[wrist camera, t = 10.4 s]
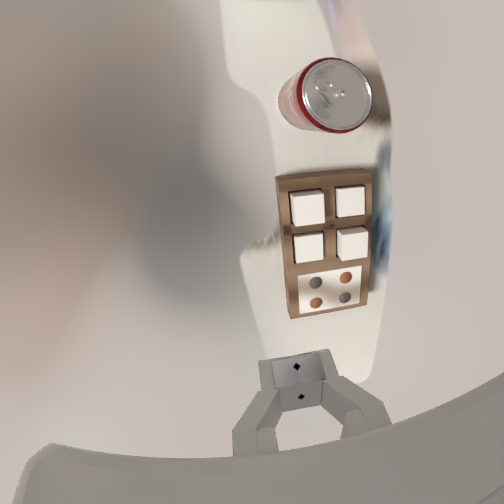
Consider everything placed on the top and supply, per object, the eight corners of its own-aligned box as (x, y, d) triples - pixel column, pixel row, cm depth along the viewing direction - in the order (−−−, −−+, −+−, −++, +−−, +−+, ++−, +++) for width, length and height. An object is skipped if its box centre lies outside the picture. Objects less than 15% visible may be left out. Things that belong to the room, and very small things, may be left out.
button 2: (289, 192, 35) (293, 197, 33) (317, 189, 36) (323, 193, 33) (291, 220, 37) (295, 226, 35) (319, 216, 37) (324, 222, 35)
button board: (274, 176, 37) (278, 181, 34) (362, 168, 37) (372, 172, 34) (287, 307, 45) (290, 320, 42) (359, 294, 45) (367, 306, 42)
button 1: (291, 230, 39) (294, 237, 37) (317, 227, 39) (322, 233, 37) (293, 255, 40) (296, 263, 38) (318, 251, 40) (323, 259, 38)
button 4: (331, 185, 37) (337, 189, 34) (356, 182, 37) (364, 187, 34) (332, 211, 38) (338, 217, 36) (357, 208, 38) (364, 214, 36)
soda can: (343, 95, 33) (387, 87, 22) (316, 140, 35) (352, 149, 24) (294, 65, 31) (322, 41, 20) (266, 111, 33) (282, 105, 22)
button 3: (335, 228, 38) (342, 235, 36) (360, 224, 38) (368, 231, 36) (336, 253, 39) (342, 261, 37) (360, 249, 39) (367, 257, 37)
